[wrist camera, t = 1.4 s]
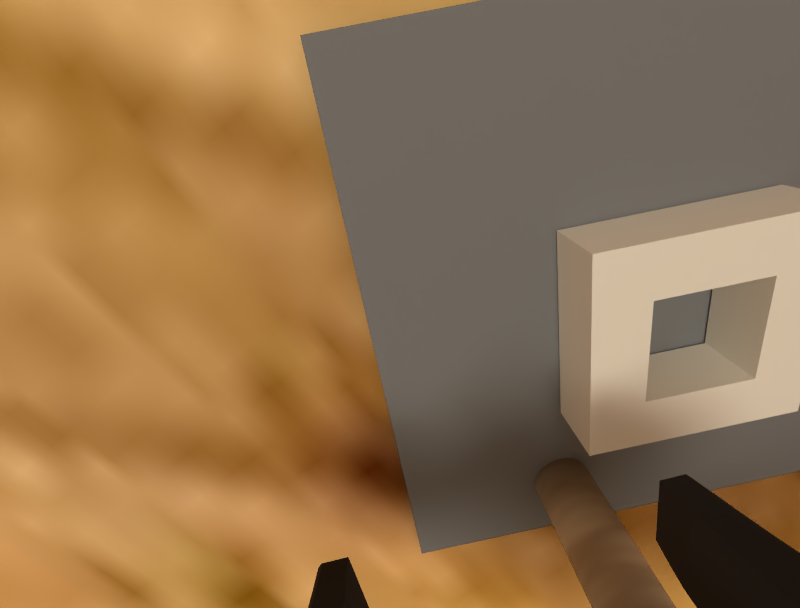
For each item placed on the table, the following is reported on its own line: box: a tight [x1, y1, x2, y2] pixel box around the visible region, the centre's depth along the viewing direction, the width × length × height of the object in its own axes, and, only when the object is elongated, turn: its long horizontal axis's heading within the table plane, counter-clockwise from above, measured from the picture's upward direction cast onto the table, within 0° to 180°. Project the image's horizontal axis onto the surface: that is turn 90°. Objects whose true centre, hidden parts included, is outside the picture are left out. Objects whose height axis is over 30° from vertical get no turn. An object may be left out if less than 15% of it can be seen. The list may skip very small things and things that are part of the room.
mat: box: [300, 0, 800, 553], centre depth 18 cm, size 24×22×1 cm
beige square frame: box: [557, 185, 800, 456], centre depth 16 cm, size 8×8×2 cm
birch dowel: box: [535, 458, 676, 608], centre depth 18 cm, size 2×2×7 cm
